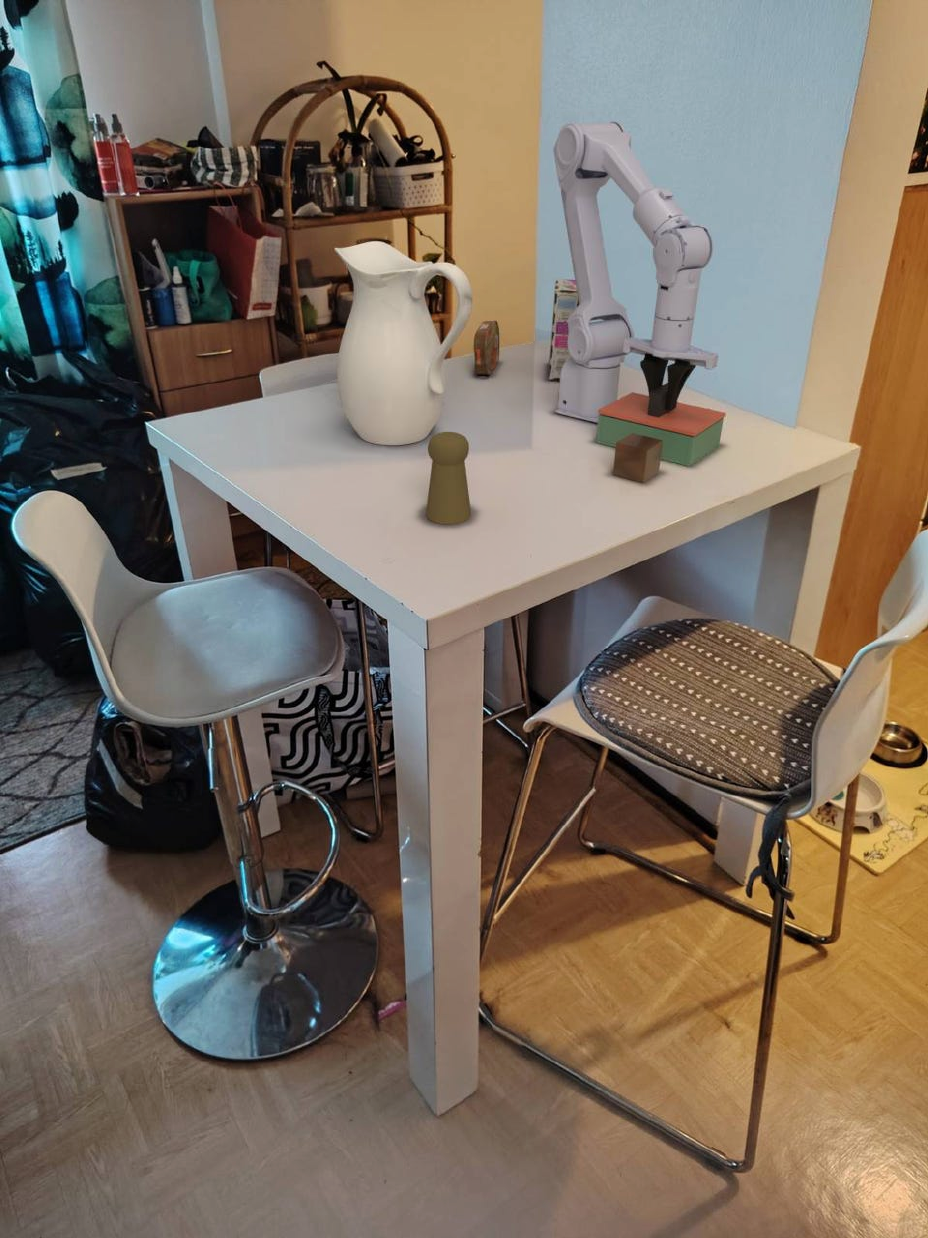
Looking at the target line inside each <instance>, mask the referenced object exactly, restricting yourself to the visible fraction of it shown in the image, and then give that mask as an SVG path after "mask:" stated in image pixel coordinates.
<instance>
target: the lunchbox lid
mask: <svg viewBox="0 0 928 1238" xmlns="http://www.w3.org/2000/svg"><path fill="white" fill-rule="evenodd" d="M667 390H668V382H666V383H663V385H662V386H660V387H659V388H657V389H655V390H653V391H651V392H650V397H649V395H646V394H643V393H638V392H633V391H632V392H630V393H628V394H626V395H624V396H622V397H621V398H617V400H616V401H614V402H612V403H611V404H609V405H607V406H605V407H603V408H601V409H599V410H598V413H599V414H603V415H607V416H611V417H615V418H619V419H624V420H628V421H632V422H636V423H640V424H644V425H649V426H653V427H657V428H661V429H665V430H669V431H674V432H678V433H682V434H686V435H690V436H696V435H697V434H699V433H701V432H702V431H704V430H705V429H707V428H708V427H710V426H711V425H713V424H714V423H716V422H717V421H719V420H720V419H722V418H724V419H725V417H726V412H724V411H719V410H714V409H710V408H705V407H702V406H697V405H692V404H687V403H683V402H678V401H677V402H676V405H675V408H673V409H671V410H665V406H666V396H667Z"/></svg>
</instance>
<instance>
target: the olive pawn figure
mask: <svg viewBox="0 0 928 1238" xmlns="http://www.w3.org/2000/svg"><path fill="white" fill-rule="evenodd" d="M469 451H470V445H469V441H468V439H467V438H466V437H465V435H463V434H461V433H459V432H454V431H442V432H438V433H435V434H434V435H432V436H431V437H430V439H429V441H428V445H427V453H428V456H429V458H430V460H432V461H431V462H432V463H431V470H430V477H429V486H428V492H427V493H428V495H427V500H426V509H425V517H426V519H427V520H429V521H430V522H432V523H435V524H439V525H458V524H462V523H465V522H467V521H468V520H469V519H471V517H472V510H471V509H472V508H471V503H470V501H471V500H470V494H469V486H468V479H467V478H468V477H467V471H466V463H465V461H466V459H467V458H468V456H469Z"/></svg>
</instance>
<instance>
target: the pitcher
mask: <svg viewBox="0 0 928 1238" xmlns="http://www.w3.org/2000/svg"><path fill="white" fill-rule="evenodd" d="M333 249H334V251H335V253H336V254H337V255H338V257H339V258H340V259H341V261H342V262H343V264H344V265H345V267H346V268H347V270H348V272H349V274H350V276H351V279H352V284H353V295H352V296H353V297H352V304H351V307H350V312H349V315H348V319H347V321H346V324H345V328H344V332H343V335H342V338H341V342H340V345H339V352H338V357H337V365H336V366H337V367H336V368H337V369H336V381H337V391H338V396H339V400H340V403H341V407H342V409H343V411H344V413H345V416H346V417H347V419H348V421H349V424H350V425H351V426H352V428H353V430H354V431H355V432H356V434H357V435H358V436H359V437H360V438H361V439H362V440H364V441H365V442H368V443H370V444H374V445H380V446H405V445H409V444H416V443H418V442H421V441H422V440H424V439H426V438H427V437H428V436H429V435H430V433H431V431H432V430H433V428H434V426H435V425H436V423H437V421H438V419H439V416H440V414H441V412H442V410H443V406H444V402H445V398H446V392H447V391H446V390H447V368H446V367H447V366H446V360H445V358H446V356H447V354H448V353H449V352H450V350H451V348H452V347H453V346H454V344H455V343H456V342H457V340H458V338H459V337H460V336H461V334H462V332H463V331H464V329H465V327H466V325H467V323H468V321H469V319H470V317H471V312H472V308H473V291H472V287H471V284H470V281H469V279H468V277H467V275H466V274H465V273H464V271H463V270H462V269H461V268H460V267H458V266H457V265H455V264H453V263H449V262H442V261H441V262H435V263H434V262H432V261H424V262H418V261H415V260H413V259H412V258H410V257H408V256H407V255H405V253H403V252H401V251H399V250H398V249H397V248H395V247H394V246H392V245H390V244H388V243H386V242H384V241H379V240H375V241H366V242H362V243H358V244H355V245H352V246H347V247H334V248H333ZM437 275H440V276H442V277H444V278H446V279H447V280H448V281H450V283H451V284H452V285H453V288H454V289H455V291H456V295H457V309H456V310H457V311H456V314H455V319H454V321H453V324H452V326H451V327H450V329H449V331H448V333H447V334H446V336H445V338H444V340H443V341H442V343H441V341H440V338H439V334H438V332H437V330H436V327H435V323H434V322H433V319H432V316H431V313H430V311H429V308H428V306H427V301H426V298H425V292H426V287H427V285H428V283H429V282H430V281H431V280H432V279H433V278H434V277H436V276H437Z"/></svg>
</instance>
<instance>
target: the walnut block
mask: <svg viewBox="0 0 928 1238" xmlns="http://www.w3.org/2000/svg"><path fill="white" fill-rule="evenodd" d="M662 446H663V440H659V439H655V438H651V437H647V436H643V435H639V434H635V433H631V434H630V435H628V436H626V437H624V438H623V439H621V440H619V441H618V442H616V447H614V448H615V449H614V458H613V466H612V467H613V468H612V476H615V477H619V478H622V479H627V480H631V481H634V482H636V483H637V482H638V483H641V484H644V483H646V482H648V481H649V480H651V478H653V477H654V476H656V475H658V474H659V473H660V467H661V460H662V459H661V453H662Z"/></svg>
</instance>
